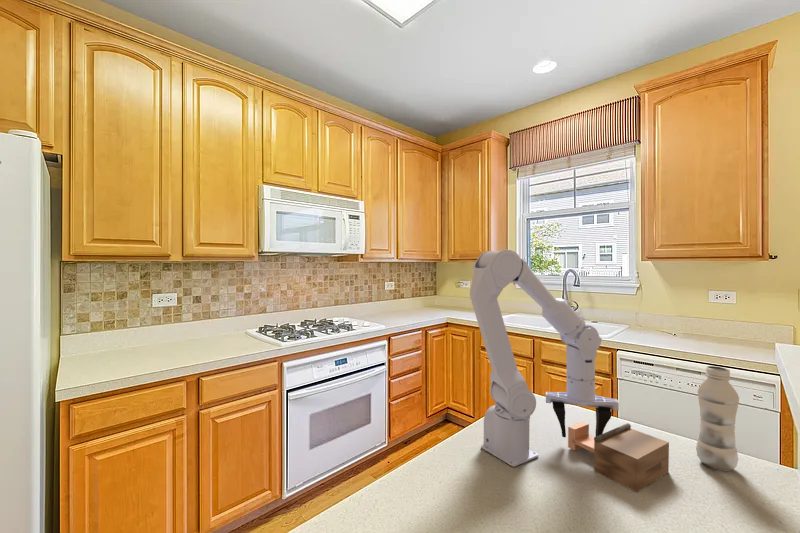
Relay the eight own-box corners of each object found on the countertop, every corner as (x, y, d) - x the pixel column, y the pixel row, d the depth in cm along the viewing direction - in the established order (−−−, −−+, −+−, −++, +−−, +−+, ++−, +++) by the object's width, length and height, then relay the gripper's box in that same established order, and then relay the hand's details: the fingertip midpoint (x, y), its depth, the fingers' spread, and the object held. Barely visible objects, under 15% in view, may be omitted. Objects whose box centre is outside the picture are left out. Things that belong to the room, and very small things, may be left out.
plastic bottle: (720, 458, 79) (722, 364, 78) (747, 476, 72) (749, 373, 72) (688, 456, 79) (689, 363, 79) (711, 474, 72) (713, 372, 72)
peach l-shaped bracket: (568, 447, 82) (568, 426, 82) (582, 441, 85) (582, 421, 85) (634, 478, 71) (634, 454, 70) (647, 470, 73) (648, 447, 73)
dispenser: (593, 470, 74) (593, 436, 74) (625, 454, 80) (626, 422, 80) (637, 492, 67) (637, 454, 67) (668, 472, 73) (668, 437, 73)
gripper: (546, 379, 81) (546, 440, 82) (621, 386, 76) (621, 451, 77) (545, 370, 88) (545, 427, 88) (614, 376, 83) (615, 436, 83)
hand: (580, 437), depth 83 cm, fingers open, 6 cm apart
